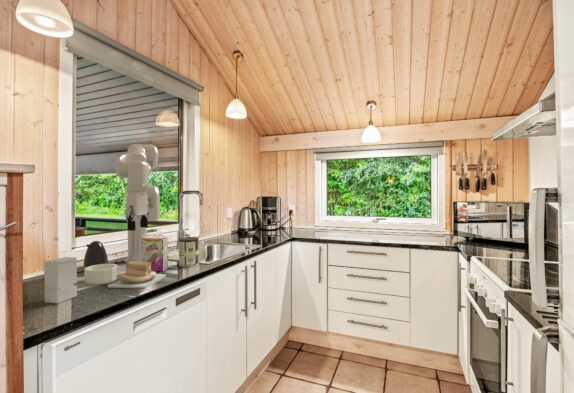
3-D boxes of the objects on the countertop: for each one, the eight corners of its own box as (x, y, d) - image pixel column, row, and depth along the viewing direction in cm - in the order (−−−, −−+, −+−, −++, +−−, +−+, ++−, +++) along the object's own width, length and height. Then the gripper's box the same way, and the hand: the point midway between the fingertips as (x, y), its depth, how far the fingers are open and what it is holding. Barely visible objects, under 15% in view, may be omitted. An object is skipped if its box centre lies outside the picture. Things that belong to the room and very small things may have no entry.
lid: (132, 274, 142) (132, 259, 141) (161, 275, 141) (161, 259, 140) (112, 284, 128) (112, 266, 127) (145, 284, 127) (145, 267, 126)
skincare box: (57, 304, 108) (56, 261, 107) (43, 302, 109) (42, 260, 108) (78, 295, 116) (77, 256, 115) (64, 294, 117) (64, 255, 117)
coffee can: (190, 261, 171) (190, 236, 171) (202, 264, 166) (202, 238, 165) (174, 265, 163) (174, 238, 163) (187, 268, 157) (186, 240, 157)
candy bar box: (141, 271, 150) (140, 238, 150) (146, 269, 155) (146, 236, 155) (163, 272, 149) (162, 238, 149) (168, 269, 154) (167, 236, 154)
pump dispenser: (77, 274, 145) (77, 242, 145) (95, 268, 155) (94, 238, 155) (96, 275, 143) (96, 243, 143) (113, 269, 153) (112, 239, 153)
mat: (132, 275, 144) (132, 273, 144) (165, 276, 142) (165, 274, 142) (107, 287, 126) (107, 285, 126) (145, 288, 124) (145, 286, 124)
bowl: (97, 276, 142) (97, 263, 142) (122, 277, 141) (122, 263, 141) (78, 284, 130) (78, 270, 130) (105, 285, 129) (105, 270, 129)
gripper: (140, 189, 142) (140, 226, 143) (116, 189, 125) (117, 231, 125) (155, 189, 142) (156, 226, 142) (134, 189, 124) (135, 232, 125)
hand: (138, 228), depth 134 cm, fingers open, 9 cm apart
